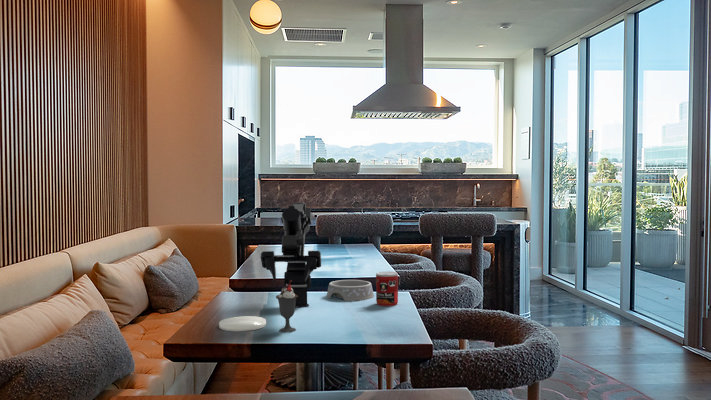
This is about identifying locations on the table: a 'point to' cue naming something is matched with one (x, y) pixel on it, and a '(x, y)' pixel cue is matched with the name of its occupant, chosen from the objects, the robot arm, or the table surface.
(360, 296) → the dog bowl
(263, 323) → the saucer
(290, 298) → the sundae
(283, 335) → the table surface
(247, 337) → the table surface
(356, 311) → the table surface
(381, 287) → the canned food
